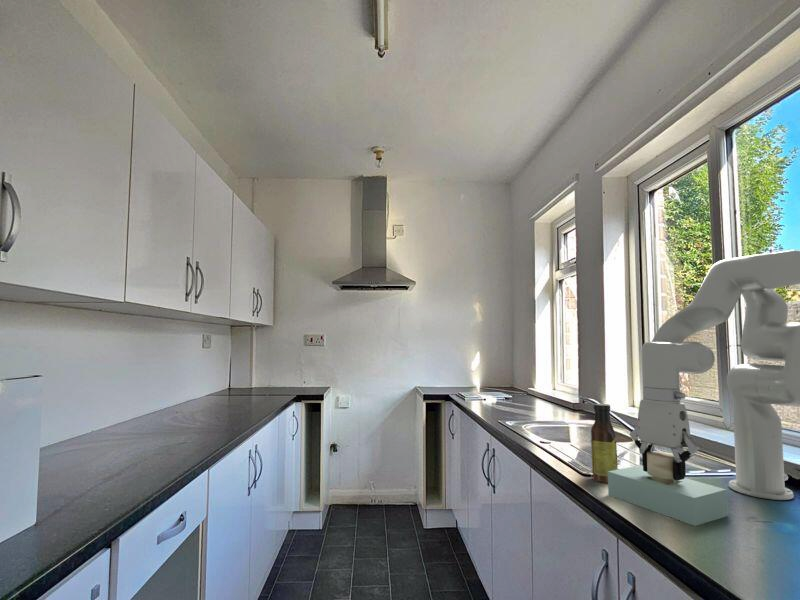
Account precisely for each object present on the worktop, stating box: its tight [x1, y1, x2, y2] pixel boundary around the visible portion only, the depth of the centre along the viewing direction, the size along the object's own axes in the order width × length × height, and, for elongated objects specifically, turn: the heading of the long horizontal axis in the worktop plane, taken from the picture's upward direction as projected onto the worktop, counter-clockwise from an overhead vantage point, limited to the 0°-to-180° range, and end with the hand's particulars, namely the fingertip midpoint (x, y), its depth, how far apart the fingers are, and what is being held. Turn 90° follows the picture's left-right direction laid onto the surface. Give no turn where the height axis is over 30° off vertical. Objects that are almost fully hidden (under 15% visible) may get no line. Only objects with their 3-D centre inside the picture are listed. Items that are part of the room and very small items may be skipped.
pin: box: [647, 450, 675, 485], centre depth 103 cm, size 6×6×10 cm
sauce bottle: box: [590, 403, 619, 484], centre depth 121 cm, size 6×6×20 cm
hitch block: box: [607, 465, 729, 527], centre depth 103 cm, size 12×20×6 cm, turn 28°
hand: (663, 474), depth 103 cm, fingers closed on pin, 6 cm apart
